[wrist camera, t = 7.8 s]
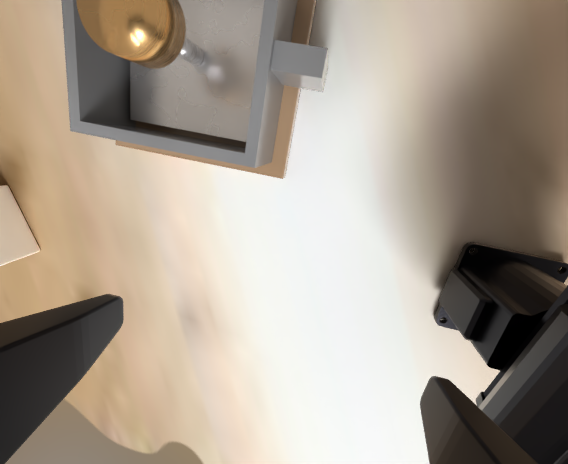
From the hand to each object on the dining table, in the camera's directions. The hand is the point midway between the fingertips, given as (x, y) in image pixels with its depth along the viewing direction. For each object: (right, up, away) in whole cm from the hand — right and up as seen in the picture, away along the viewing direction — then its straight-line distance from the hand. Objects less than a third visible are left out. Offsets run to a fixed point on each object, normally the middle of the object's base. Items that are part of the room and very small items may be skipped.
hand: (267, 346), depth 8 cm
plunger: (-4, +13, +9) cm, 17 cm away
